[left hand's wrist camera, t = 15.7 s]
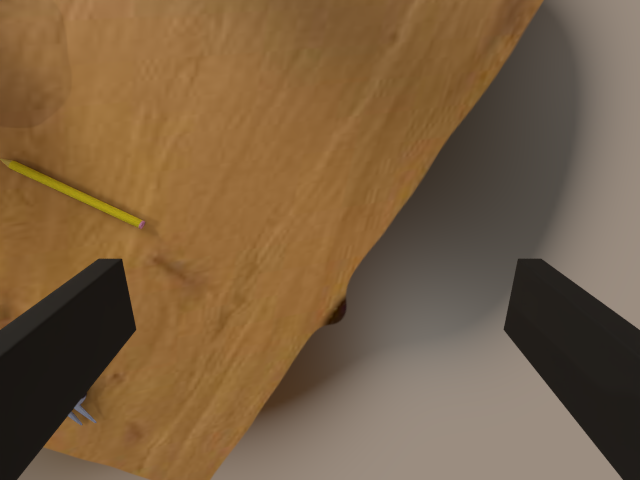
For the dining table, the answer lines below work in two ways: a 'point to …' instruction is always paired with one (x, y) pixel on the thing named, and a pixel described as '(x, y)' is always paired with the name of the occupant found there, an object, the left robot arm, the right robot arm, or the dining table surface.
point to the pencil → (73, 193)
